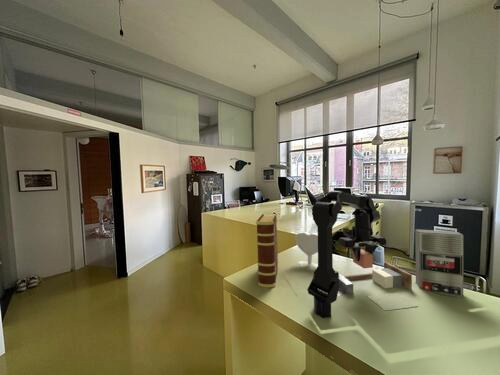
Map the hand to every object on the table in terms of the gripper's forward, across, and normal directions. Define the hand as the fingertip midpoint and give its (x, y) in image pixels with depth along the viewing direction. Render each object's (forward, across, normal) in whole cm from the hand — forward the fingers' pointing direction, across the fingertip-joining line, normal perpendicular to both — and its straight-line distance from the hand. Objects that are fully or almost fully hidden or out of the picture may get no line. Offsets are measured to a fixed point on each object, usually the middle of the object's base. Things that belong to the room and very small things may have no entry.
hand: (362, 260), depth 87 cm
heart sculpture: (+13, +11, -29) cm, 33 cm away
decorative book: (+13, +37, -20) cm, 44 cm away
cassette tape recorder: (+13, -28, +8) cm, 32 cm away
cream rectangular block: (+12, -10, 0) cm, 15 cm away
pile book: (+13, -3, +12) cm, 18 cm away
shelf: (+12, -2, 0) cm, 13 cm away
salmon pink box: (+2, 0, 0) cm, 2 cm away
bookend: (+12, +11, 0) cm, 16 cm away
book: (+12, -14, 0) cm, 18 cm away
